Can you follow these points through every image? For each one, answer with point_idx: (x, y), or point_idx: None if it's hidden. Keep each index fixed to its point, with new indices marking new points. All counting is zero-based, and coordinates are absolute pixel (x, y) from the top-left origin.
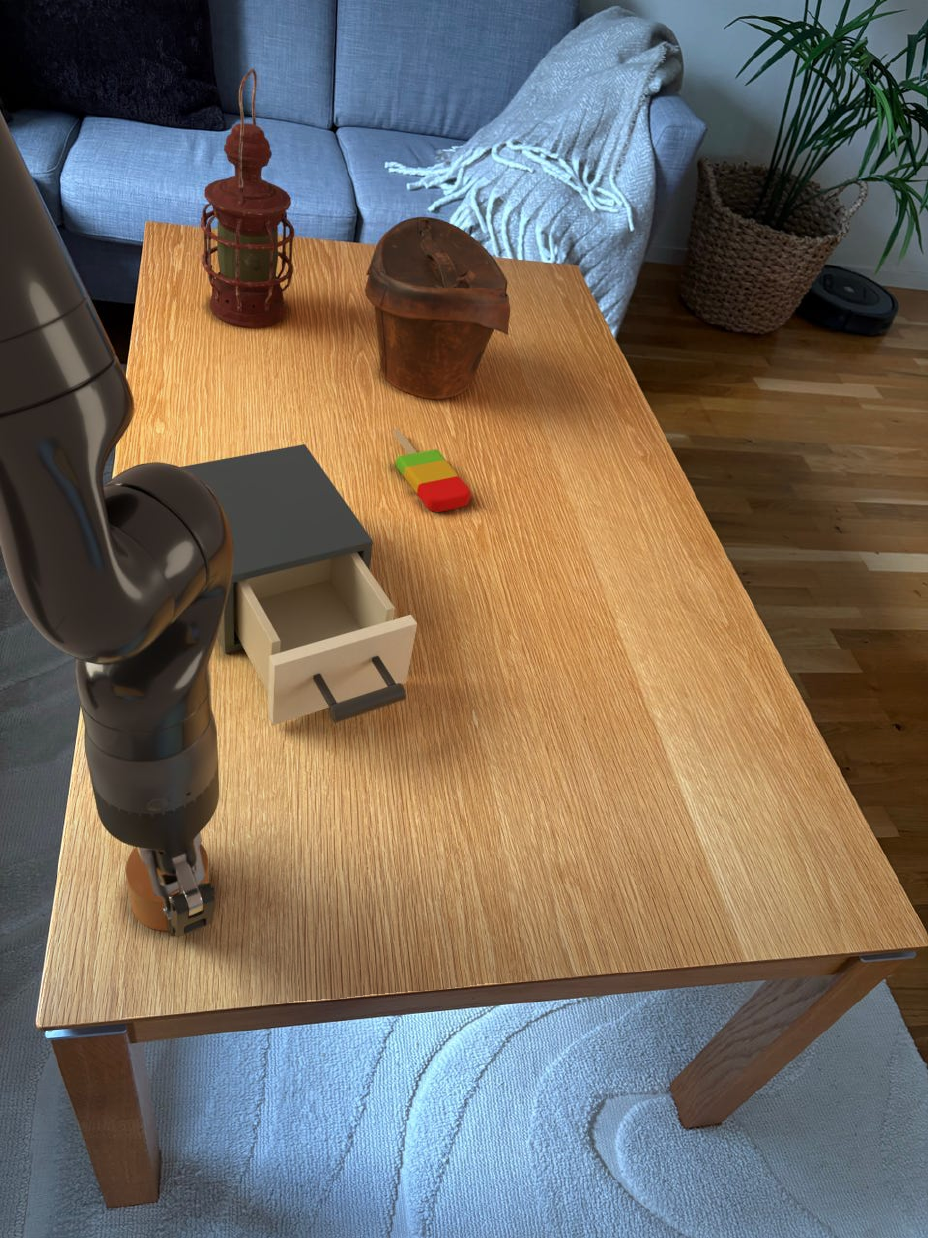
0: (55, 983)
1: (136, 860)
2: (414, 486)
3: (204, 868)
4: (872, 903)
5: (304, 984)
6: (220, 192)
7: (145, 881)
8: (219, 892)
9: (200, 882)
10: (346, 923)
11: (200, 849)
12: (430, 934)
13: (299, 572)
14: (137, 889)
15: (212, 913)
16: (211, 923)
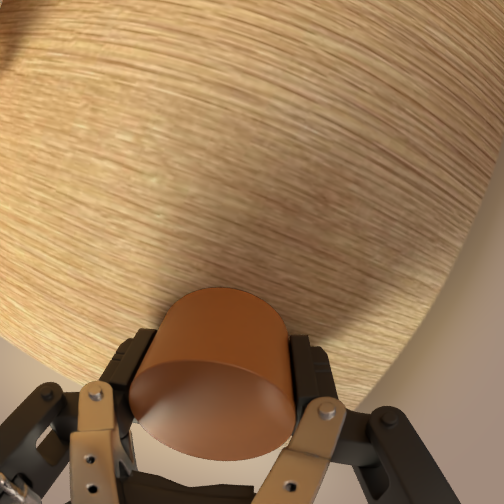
0: (280, 449)
1: (180, 444)
2: None
3: (248, 376)
4: None
5: (468, 211)
6: None
7: (229, 448)
8: (252, 275)
9: (281, 391)
10: (420, 89)
11: (191, 366)
12: (470, 5)
13: None
14: (240, 457)
15: (437, 468)
16: (403, 414)
